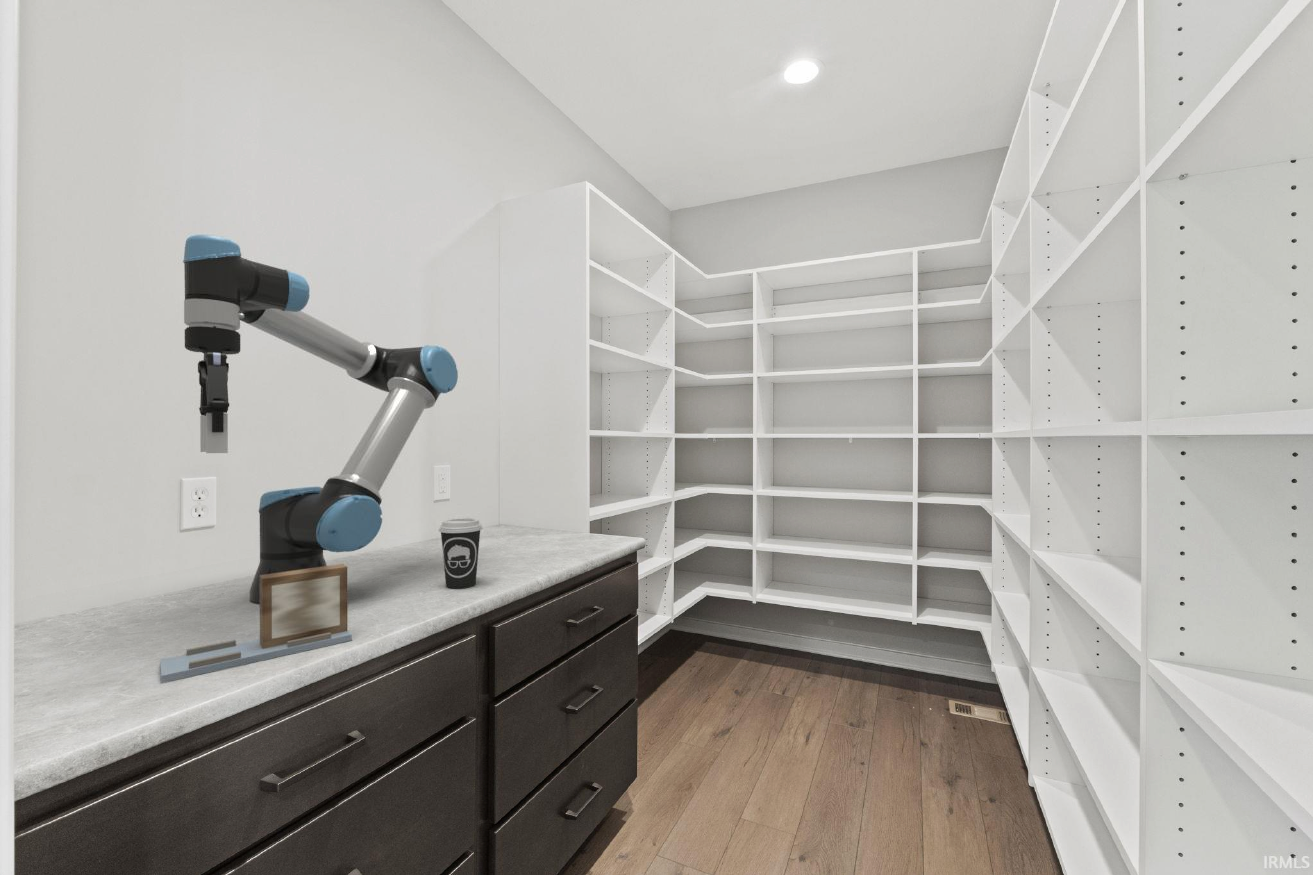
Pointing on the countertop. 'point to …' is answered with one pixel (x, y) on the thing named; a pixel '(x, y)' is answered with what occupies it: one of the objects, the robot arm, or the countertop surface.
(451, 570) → the coffee cup
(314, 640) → the ledge
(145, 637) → the countertop surface
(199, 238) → the robot arm
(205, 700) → the countertop surface
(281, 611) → the frame
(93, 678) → the countertop surface
